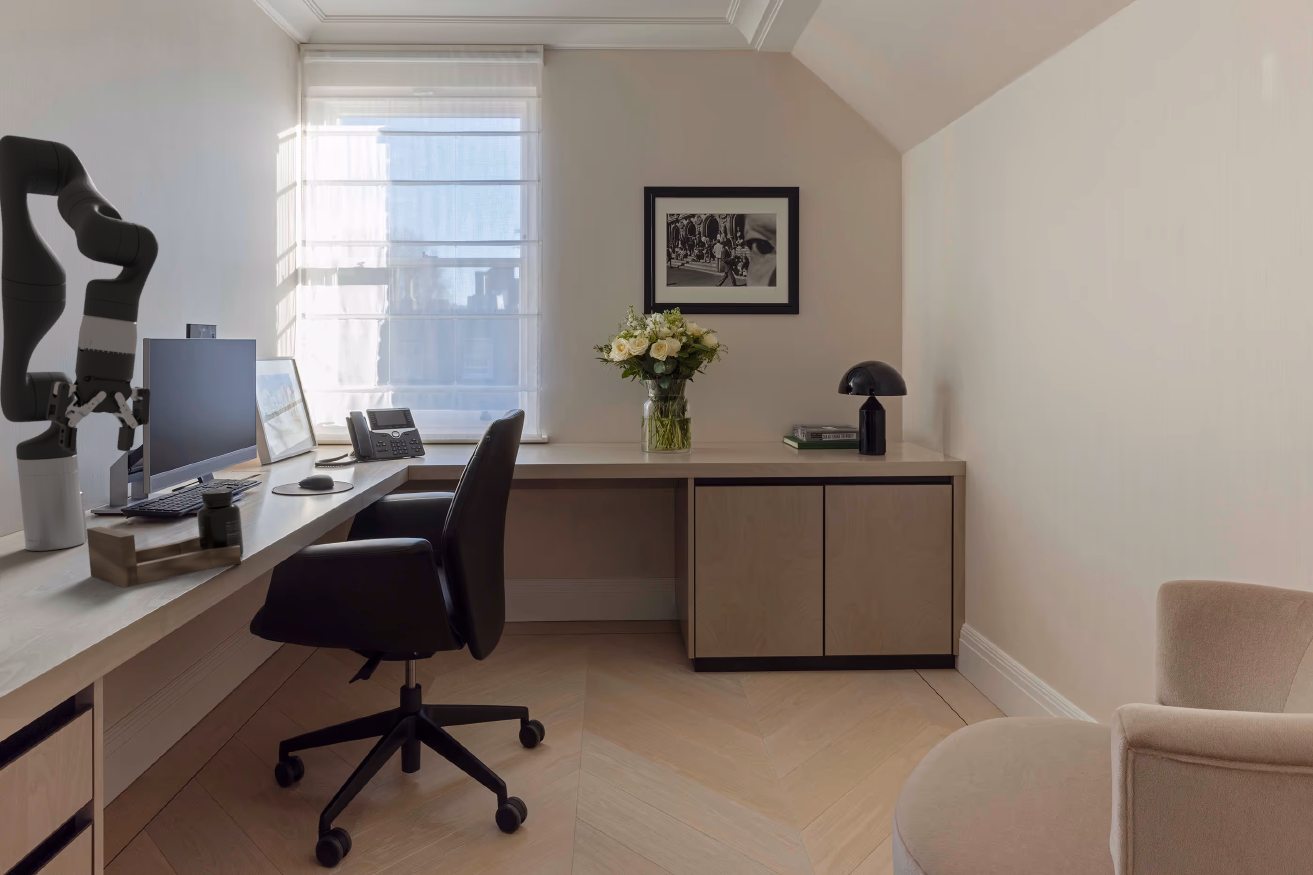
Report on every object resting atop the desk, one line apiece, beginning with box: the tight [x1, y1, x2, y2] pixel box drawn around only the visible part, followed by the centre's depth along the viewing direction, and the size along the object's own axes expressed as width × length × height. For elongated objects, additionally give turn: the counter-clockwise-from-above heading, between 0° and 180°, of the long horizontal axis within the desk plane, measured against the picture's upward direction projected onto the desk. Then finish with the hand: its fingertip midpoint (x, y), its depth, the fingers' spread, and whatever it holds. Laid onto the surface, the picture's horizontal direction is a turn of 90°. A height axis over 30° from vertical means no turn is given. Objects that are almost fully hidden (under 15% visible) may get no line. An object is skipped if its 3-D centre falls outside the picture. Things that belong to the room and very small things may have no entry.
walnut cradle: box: [86, 526, 242, 588], centre depth 139 cm, size 18×15×8 cm
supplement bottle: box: [196, 488, 244, 556], centre depth 146 cm, size 7×7×12 cm
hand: (96, 450), depth 129 cm, fingers open, 8 cm apart
